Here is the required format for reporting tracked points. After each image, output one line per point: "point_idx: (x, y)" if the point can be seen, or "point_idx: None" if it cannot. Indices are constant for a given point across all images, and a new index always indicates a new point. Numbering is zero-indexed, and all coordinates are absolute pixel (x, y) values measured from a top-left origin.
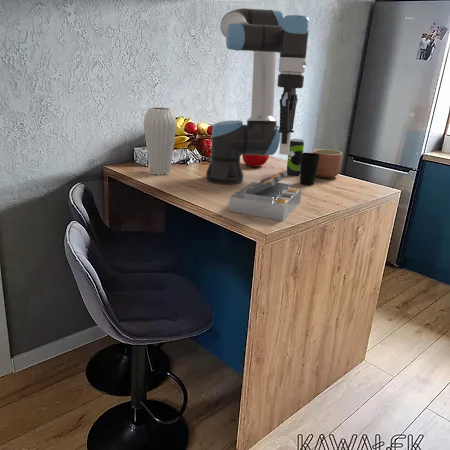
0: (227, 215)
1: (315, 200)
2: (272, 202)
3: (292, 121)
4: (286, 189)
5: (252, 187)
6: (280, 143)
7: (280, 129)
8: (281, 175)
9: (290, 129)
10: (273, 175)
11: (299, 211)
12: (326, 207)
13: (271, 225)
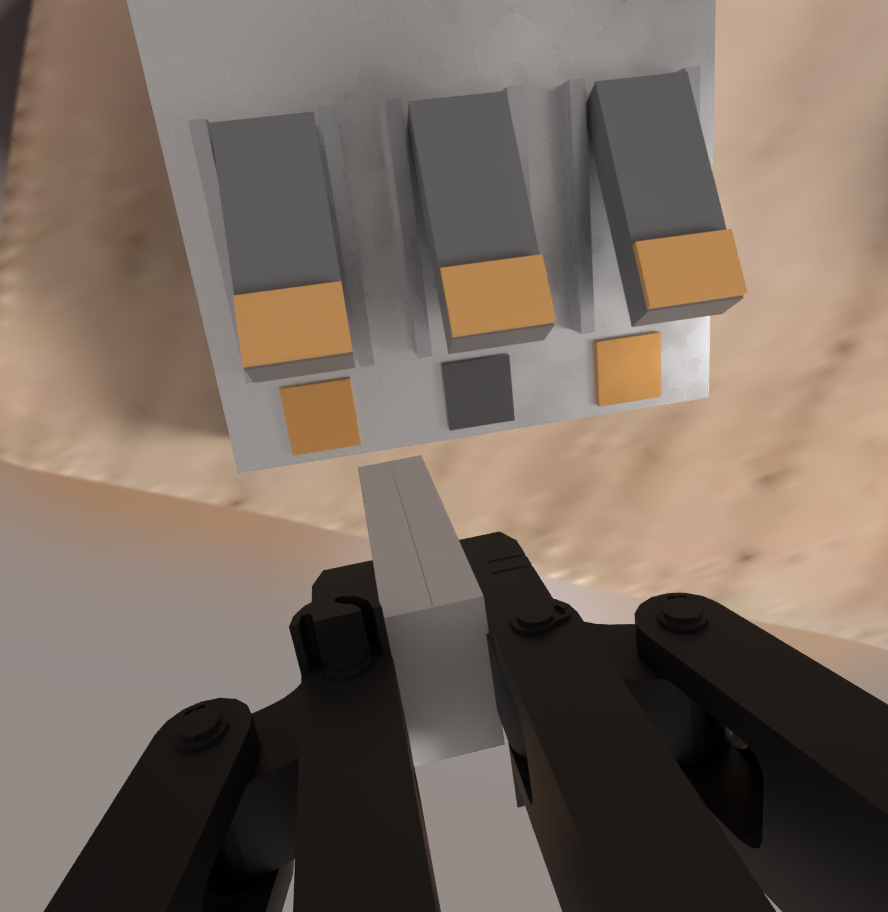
0: (72, 72)
1: (761, 430)
2: (243, 377)
3: (754, 874)
4: None
5: (287, 156)
6: (369, 529)
7: (160, 759)
8: (635, 296)
9: (518, 784)
10: (682, 190)
11: (490, 440)
12: (656, 530)
13: (127, 419)
